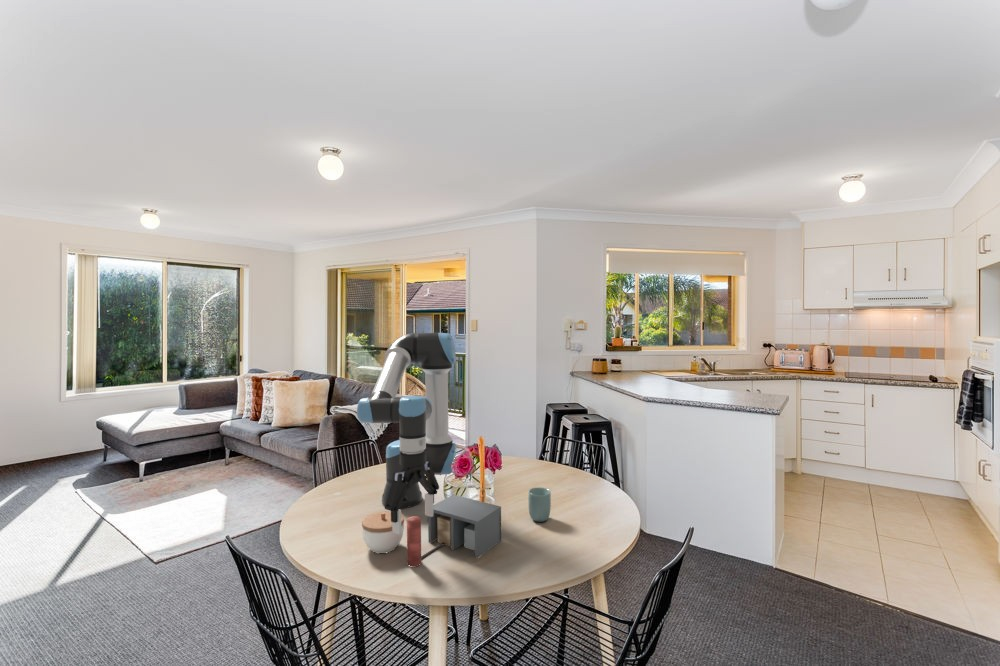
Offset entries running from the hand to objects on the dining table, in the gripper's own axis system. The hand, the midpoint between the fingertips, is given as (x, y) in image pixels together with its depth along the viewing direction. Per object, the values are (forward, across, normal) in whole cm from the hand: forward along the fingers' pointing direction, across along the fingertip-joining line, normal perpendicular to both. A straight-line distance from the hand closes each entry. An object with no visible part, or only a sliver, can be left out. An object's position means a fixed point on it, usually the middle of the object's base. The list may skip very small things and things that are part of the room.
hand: (413, 523), depth 139 cm
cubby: (+12, +19, -4) cm, 23 cm away
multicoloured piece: (+12, +9, 0) cm, 15 cm away
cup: (+12, +46, -17) cm, 50 cm away
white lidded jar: (+12, +2, +14) cm, 19 cm away
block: (+12, +18, -9) cm, 23 cm away
